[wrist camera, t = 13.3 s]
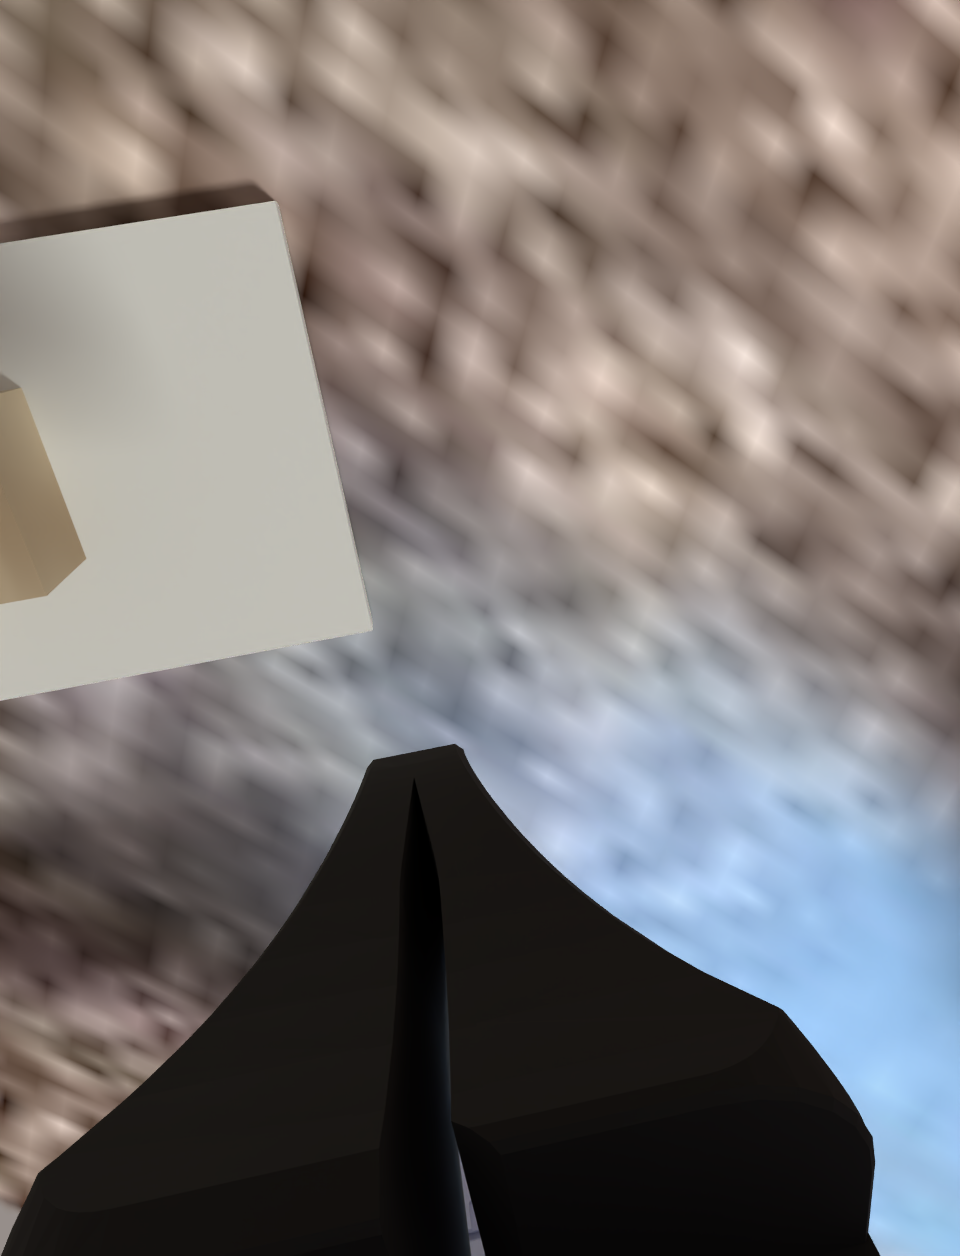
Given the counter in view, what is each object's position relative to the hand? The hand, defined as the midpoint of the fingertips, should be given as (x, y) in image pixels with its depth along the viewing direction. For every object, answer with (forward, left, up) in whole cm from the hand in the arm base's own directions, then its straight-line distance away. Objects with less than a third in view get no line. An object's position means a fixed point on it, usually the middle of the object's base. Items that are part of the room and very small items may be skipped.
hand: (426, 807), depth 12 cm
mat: (+4, +8, -10) cm, 13 cm away
